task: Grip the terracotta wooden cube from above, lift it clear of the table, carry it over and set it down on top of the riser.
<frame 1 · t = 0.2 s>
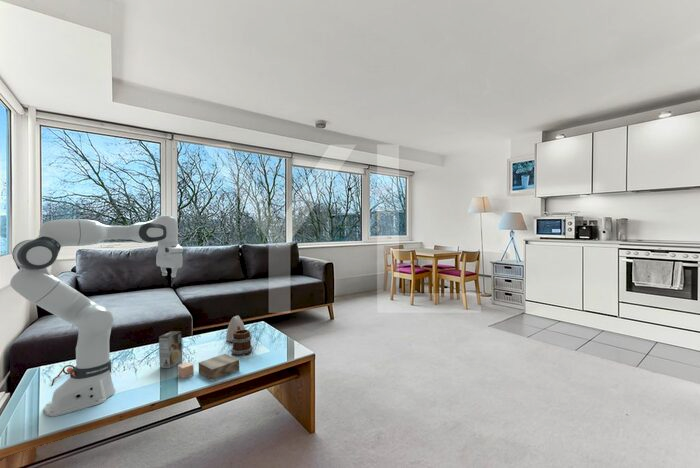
hand: (169, 276, 159), 47 cm above the table, tool pointing down, fingers open, 8 cm apart
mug: (241, 351, 184), on the table
coffee box: (171, 364, 168), on the table
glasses: (74, 378, 155), on the table
sculpture: (236, 339, 205), on the table
cube: (186, 375, 156), on the table
riser: (219, 371, 159), on the table
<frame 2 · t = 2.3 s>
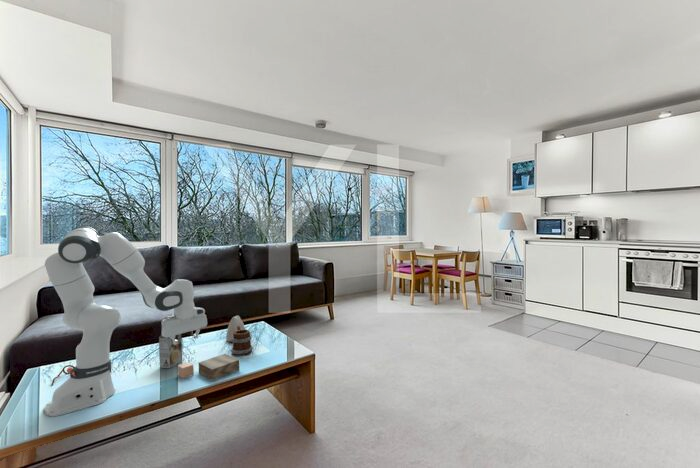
hand: (185, 341, 155), 16 cm above the table, tool pointing down, fingers open, 8 cm apart
nothing on the table moved.
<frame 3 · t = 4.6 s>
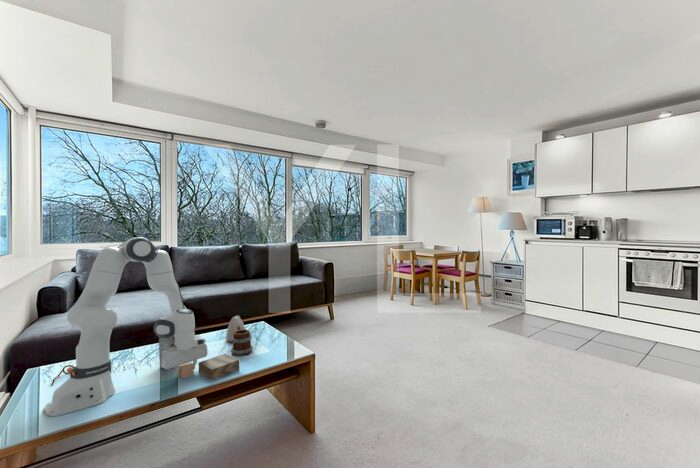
hand: (185, 371, 156), 2 cm above the table, tool pointing down, fingers closed on cube, 5 cm apart
cube: (186, 375, 156), on the table, touching gripper
everything else where it was.
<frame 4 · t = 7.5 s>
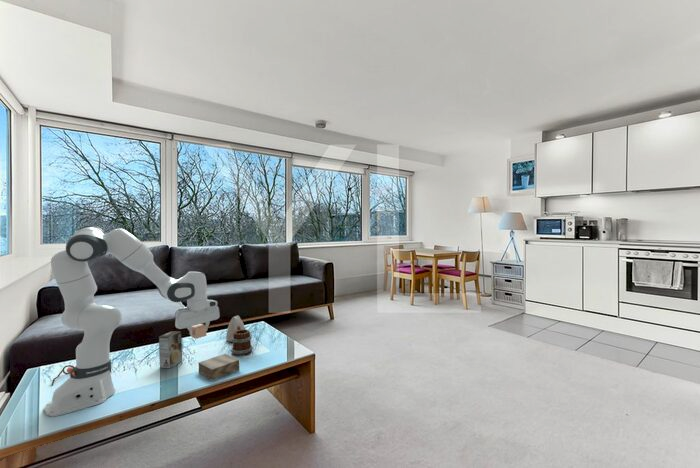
hand: (198, 332, 156), 20 cm above the table, tool pointing down, fingers closed on cube, 5 cm apart
cube: (198, 336, 157), point 18 cm above the table, touching gripper
everything else where it was.
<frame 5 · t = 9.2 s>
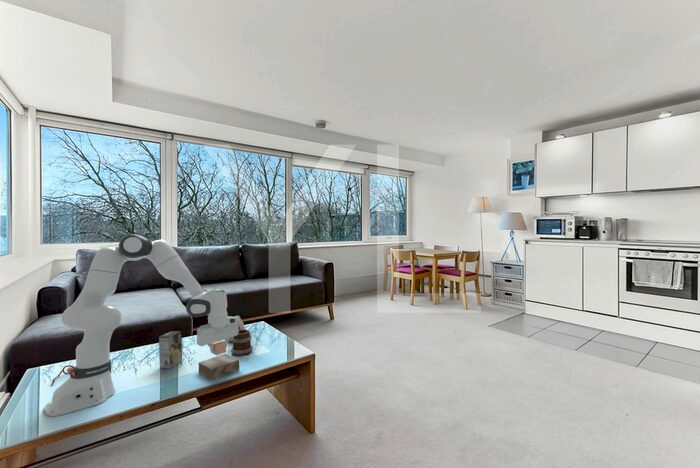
hand: (218, 349, 159), 11 cm above the table, tool pointing down, fingers closed on cube, 5 cm apart
cube: (218, 352, 159), point 9 cm above the table, touching gripper
everything else where it was.
when the fingers open (8 cm above the table, at t = 10.5 s): cube drops 1 cm, resting on riser.
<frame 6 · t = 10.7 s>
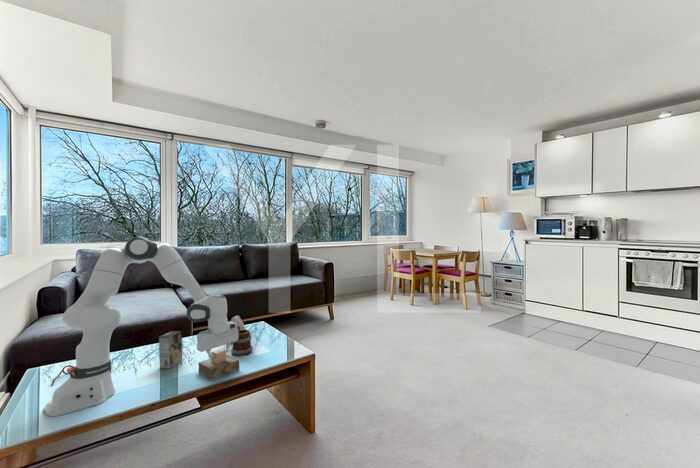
hand: (218, 354, 159), 8 cm above the table, tool pointing down, fingers open, 7 cm apart
cube: (218, 361, 159), point 5 cm above the table, touching riser
everything else where it was.
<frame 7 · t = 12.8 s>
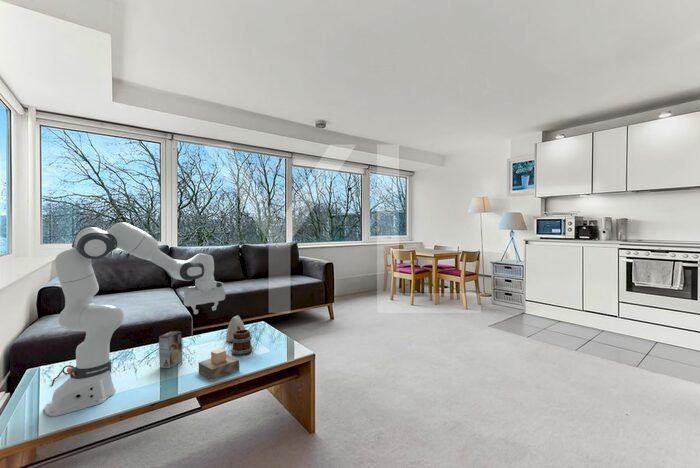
hand: (205, 312, 165), 28 cm above the table, tool pointing down, fingers open, 8 cm apart
nothing on the table moved.
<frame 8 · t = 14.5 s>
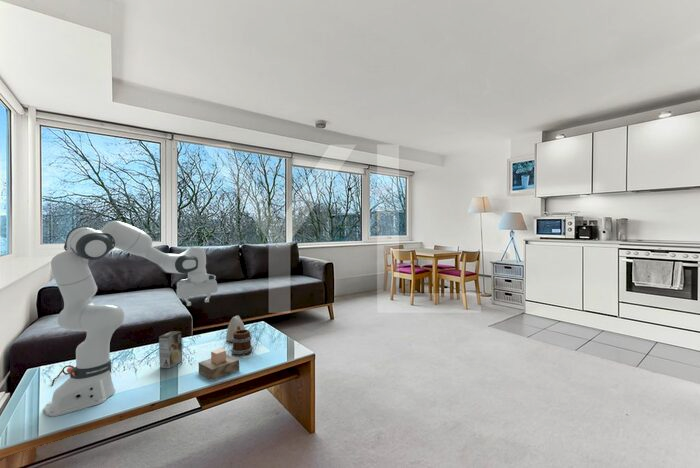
hand: (198, 303, 169), 31 cm above the table, tool pointing down, fingers open, 8 cm apart
nothing on the table moved.
at the end: cube inside the target area on the riser (0.1 cm from its centre), point 5.0 cm above the riser's base; cube tilted 0°; the gripper is holding nothing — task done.
